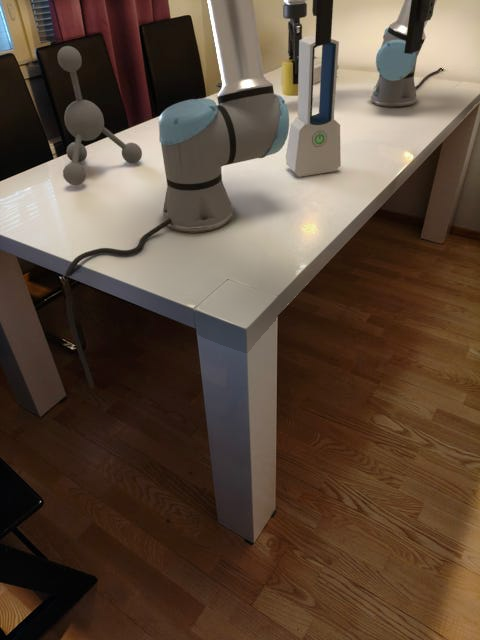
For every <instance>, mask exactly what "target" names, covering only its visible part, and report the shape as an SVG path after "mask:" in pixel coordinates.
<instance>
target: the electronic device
mask: <svg viewBox="0 0 480 640" xmlns="http://www.w3.org/2000/svg"><path fill="white" fill-rule="evenodd" d="M315 36H316V34H311V35H307V36H305V37H302V39H301V40H299V76H298V96H297V117H295V118H294V119H293V120H292V122H290V124H289V131H288V137H287V146H286V152H285V160H286V161H285V163H286V166H287V167H288V168H289V169H290V170H291V171H292V172H293V173H294V174H295V175H296V176H297V177H298V178H301V177H307V176H313V175H314V176H315V175H319V174H326V173H333V172H337V170H339V169H340V167H341V165H342V164H341V163H342V161H341V159H342V158H341V155H342V154H341V124H340V123H339V122H338V121H337V120H336V119H335V109H336V108H335V106H336V95H337V93H336V91H337V90H336V89H337V78H338V69H337V65H339V64H338V63H339V62H338V61H339V48H340V41H338V40H336V39H333V38H331V42H330V43H326V44H323V45H315ZM320 46H321V57H322V61H321V81H319V83H320V84H319V85H320V86H319V104H318V113H316V114H313V99H314V97H313V96H314V84H313V76H314V56H315V50H316V48H318V47H320Z"/></svg>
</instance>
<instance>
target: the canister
mask: <svg viewBox="0 0 480 640" xmlns="http://www.w3.org/2000/svg"><path fill="white" fill-rule="evenodd" d="M292 60H294V59H291V60H289V59H285V60H283V61H281V94H282V95H284V96H287V97H298V84H293V63H291V61H292Z"/></svg>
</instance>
